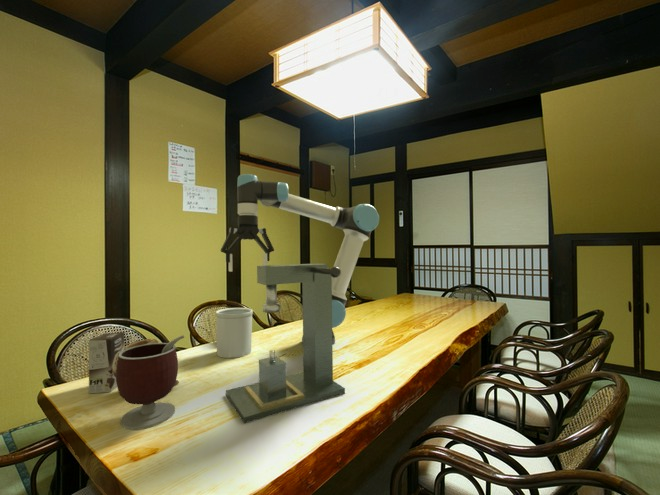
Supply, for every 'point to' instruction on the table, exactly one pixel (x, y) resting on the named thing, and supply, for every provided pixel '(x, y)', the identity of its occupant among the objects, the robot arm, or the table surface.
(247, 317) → the utensil holder
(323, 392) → the press
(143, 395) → the mate gourd
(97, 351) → the coffee box
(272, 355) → the block
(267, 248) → the robot arm
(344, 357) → the table surface
